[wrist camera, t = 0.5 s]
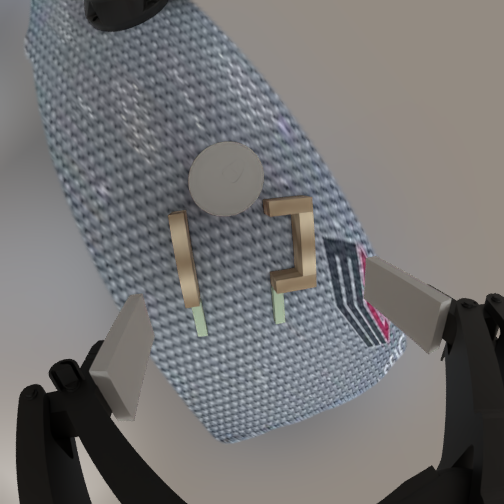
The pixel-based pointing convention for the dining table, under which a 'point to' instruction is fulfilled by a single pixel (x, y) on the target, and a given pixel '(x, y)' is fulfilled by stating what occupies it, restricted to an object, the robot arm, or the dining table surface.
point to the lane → (280, 279)
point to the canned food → (226, 179)
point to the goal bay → (277, 311)
